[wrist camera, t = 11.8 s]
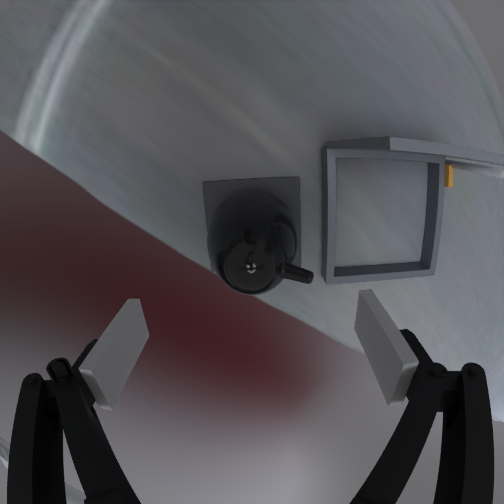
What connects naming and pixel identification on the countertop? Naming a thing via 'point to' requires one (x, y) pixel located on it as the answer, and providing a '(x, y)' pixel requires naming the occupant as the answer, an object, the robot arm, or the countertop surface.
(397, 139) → the case
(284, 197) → the pad
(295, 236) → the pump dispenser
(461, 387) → the robot arm
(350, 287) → the countertop surface
